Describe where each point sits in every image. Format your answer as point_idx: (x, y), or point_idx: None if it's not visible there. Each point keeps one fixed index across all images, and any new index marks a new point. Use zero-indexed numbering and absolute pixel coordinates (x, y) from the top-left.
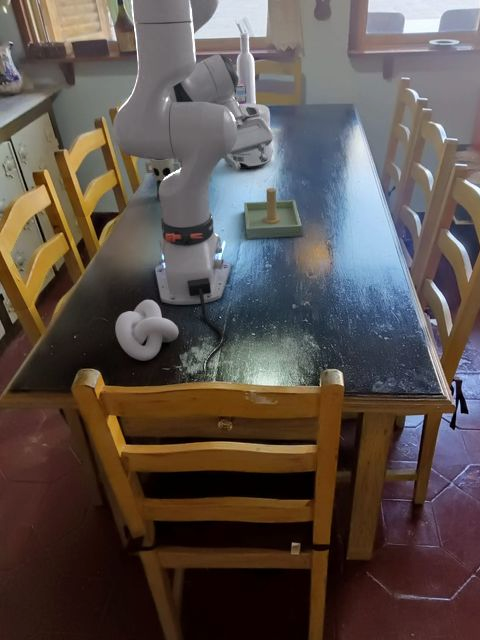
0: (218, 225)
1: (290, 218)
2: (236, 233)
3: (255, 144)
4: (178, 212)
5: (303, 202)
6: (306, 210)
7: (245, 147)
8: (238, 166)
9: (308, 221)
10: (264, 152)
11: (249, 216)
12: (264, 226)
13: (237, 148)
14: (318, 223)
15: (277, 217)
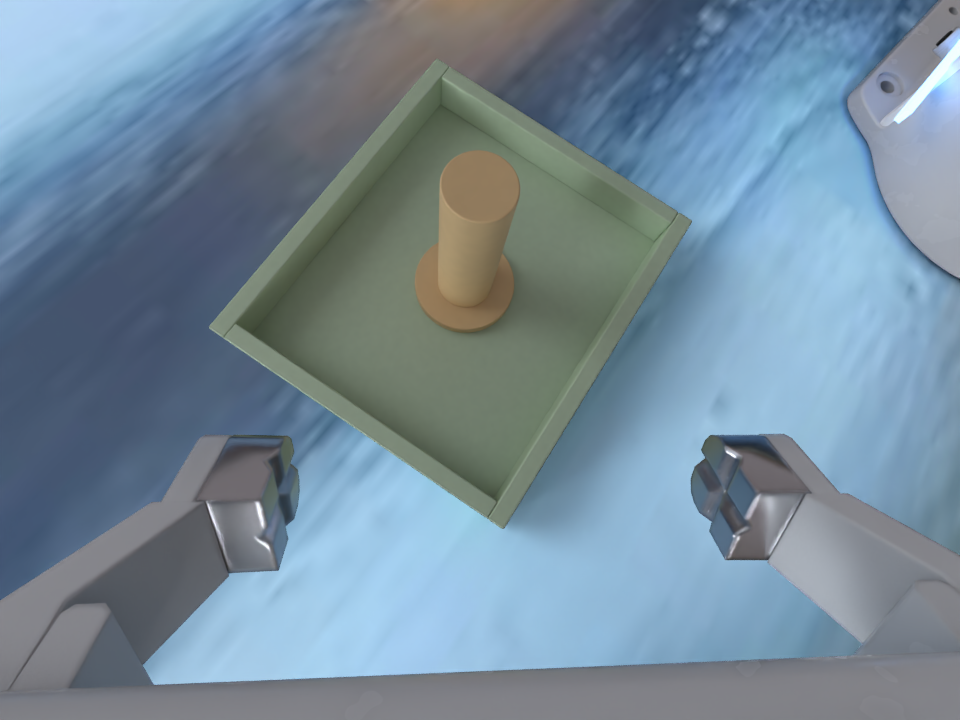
0: None
1: (367, 234)
2: (677, 328)
3: (243, 683)
4: None
5: (109, 389)
6: (191, 290)
7: (581, 670)
8: (754, 438)
9: (292, 184)
10: (170, 512)
11: (536, 411)
12: (542, 254)
13: (846, 666)
14: (271, 135)
15: (432, 267)
